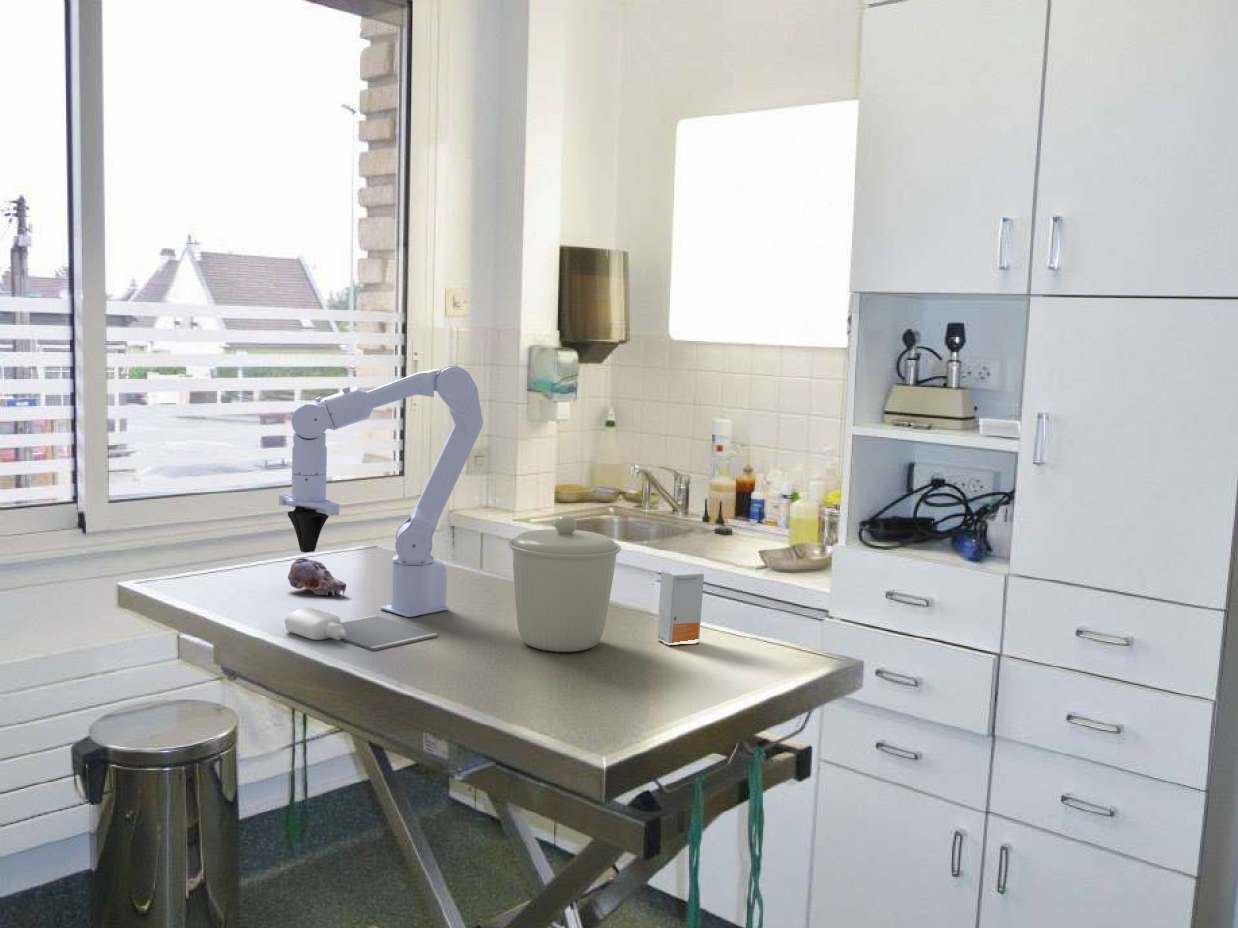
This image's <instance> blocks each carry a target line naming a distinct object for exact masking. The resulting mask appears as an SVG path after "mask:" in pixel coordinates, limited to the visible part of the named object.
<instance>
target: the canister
mask: <svg viewBox="0 0 1238 928" xmlns="http://www.w3.org/2000/svg"><path fill="white" fill-rule="evenodd" d="M577 526H578V522H577V520H576V518H574V517H573V516H571V515H560V516H558V517H557V518H556V519H555V521H554V527H555V528H549V529H548V528H547V529H545V528H543V529H537V530H535V529H534V530H530V531H525V532H523V533H520V534H518V535H517V536H516V537H514V538H512V539H510V540H509V541H508V543H507V545H508V548H510V549H511V555H512V570H513V571H512V572H513V586H514V587H513V588H514V599H515V612H516V613H515V614H516V620H517V622H516V623H517V629H518V634H519V636H520V637H521V639H522V641H523V642H524V643H525V644H526V645H527V646H529V647H532V648H534V649H537V650H542V651H547V652H552V653H553V652H554V653H573V652H574V653H575V652H582V651H585V650H586V651H587V650H589V649H591V648H593V647H595V646H596V645H597V644H598V643H599V642H600V640H601V639H602V637H603V634H604V630H605V626H606V621H607V614H608V610H609V605H610V599H611V592H612V585H613V582H614V581H613V579H614V573H615V567H616V561H617V554H618V553H620V552H621V551H622V546H621V545H620V544H619V543H617V542H616V541H614V540H613V538H611V537H609V536H607V535H604V534H601V533H597V532H592V531H587V530H580V529H579V530H578V529H577Z"/></svg>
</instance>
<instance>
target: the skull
mask: <svg viewBox="0 0 1238 928" xmlns="http://www.w3.org/2000/svg"><path fill="white" fill-rule="evenodd" d="M287 579H288V581H289V584H290V586H291V587H293V588H295V589H298V590H300V589H303V588H306V589H308V590H310V591H312V592H314V595H320V596H321V595H326V596H328V595H329V593H331V592H332V593H331V594H332V596H333V597H335V594H337V593H338V594H339V595H340V594H341V592H342V594H343V595H344V596H345V592H346V589H347V583H345V582H344V581H342V580H339V579H338V578H335V577H334V576H333V575H332V573H331V572H330V571H329V569H327V567H326V566H325V565H324V564H323V563H322V562H319V561H317V560H311V559H308V558H304V557H302V558H296V560H295V561H294V562H293V563H292V564H291V566H290V571H289V573H288V575H287Z"/></svg>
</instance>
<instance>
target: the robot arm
mask: <svg viewBox="0 0 1238 928" xmlns="http://www.w3.org/2000/svg"><path fill="white" fill-rule="evenodd" d="M435 392H437V394H438V395H439V397H440V398H441V399H442V401H443V403H445V404H446V406H447V407H448V410H449V412H450V416H451V418H452V420H453V426H452V428H451V430H450V432H449V435H448V437H447V439H446V440H445V443H444V444H443V445H444V446H443V447H442V450H441V452H440V453H439V456H438V457H437V460H436V462H435V465H433V469H432V471H431V473H430V475H429V477H428V479H427V480H426V483H425V485H424V488H423V489H422V492H421V494H420V496H419V498H418V499H417V500H418V501H417V502H416V504H415V506H414V507H413V509H412V511H411V513H410V515H409V517H408V518H407V519H406V520H405V521H404V522H402V523H401V524H400V525H399V526H398V528H397V530H396V533H395V545H394V547H395V551H396V555H394V556H393V557H392V559H391V562H392V563H391V565H392V567H391V599H390V601H391V602H390V604H386V605H381V606H380V610H382V611H383V610H384V611H386V612H390V613H393V614H396V615H400V616H403V617H407V618H413V617H418V616H422V615H428V614H432V613H438V612H441V611H443V612H444V611H447V610H449V609H450V606H448V605H447V593H448V592H447V589H448V585H447V584H448V573H447V571H448V570H447V568H446V565H445V563H443V561H442V560H441V559H439V558H436V557H435V558H434V556H433V555H431V553H432V550H433V537H434V533H435V532H436V529H437V526H438V524H439V520H440V517H441V515H442V513H443V512H444V509H445V507H446V505H447V502H448V500H449V499H450V496H451V495H452V492H453V490H454V488H455V486H456V483H457V481H458V479H459V477H460V474H461V472H462V471H463V470H464V467H465V464H466V463H467V460H468V459H469V456H470V454H471V451H473V447H474V445H475V444H476V441H477V439H478V437H479V435H480V433H481V431H482V428H483V423H484V422H483V421H484V420H483V415H482V409H481V408H482V407H481V403H480V402H481V401H480V395H479V388H478V386H477V384H476V383H475V381H474V379H473V377H472V376H471V374H470V373H469V372H468V371H467V370H465V368H463V367H461V366H458V365H447V366H444V367H443V368H442V369H440V368H433V369H430V370H428V369H427V370H423V371H419V372H416V373H413V374H410V375H408V376H405V377H403V378H400V379H397V380H395V381H392V382H389V383H386V384H384V385H381V386H379V387H376V388H374V389H370V390H364V389H362V388H360V387H359V386H355V387H352V388H351V386H345V387H343V388H341V391H340V392H338V393H336V394H332V395H330V396H326V397H323V398H322V396H319V397H316V398H315V400H314V401H315V402H316V403H310V402H309V403H305V404H303V405H301V406H299V407H298V408H297V409H296V410H295V411H294V412H293V414H292V417H291V426H292V429H293V431H294V433H293V437H292V442H293V445H292V449H291V450H292V455H291V493H282V494H281V493H280V494H278V496H279V497H278V505H279V506H283V507H284V506H288V507H292V508H294V509H293V510H290V511H287V517H288V518H289V520H290V522H291V523H292V525H293V528H294V532H295V534H296V538H297V543H298V546H299V551H300V553H301V552H302V553H304V554H307V553H314V552H315V551H316V547H317V545H318V540H319V538H320V535H321V531H322V529H323V527H324V526H325V523H326V522H327V520H328V518H329V517H332V516H339V515H340V503H339V502H338V503H337V502H334V501H332V500H330V499H328V498H327V461H328V460H327V457H328V456H327V455H328V448H327V445H326V442H327V441H326V438H327V437H326V435H327V433H326V430H332V431H335V430H338V429H342V428H344V427H345V428H346V427H347V426H350V425H353V424H355V423H358V422H361V421H365V420H367V419H369V417H370V416H371V414H372V412H373V409H375V408H378V407H381V406H382V407H383V406H385V405H388V404H391V403H394V402H398V401H401V400H403V399H407V398H411V397H413V396H416V395H417V396H418V395H419V396H423V397H430V398H434V397H435Z"/></svg>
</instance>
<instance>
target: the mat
mask: <svg viewBox="0 0 1238 928" xmlns="http://www.w3.org/2000/svg"><path fill="white" fill-rule="evenodd" d="M341 625H343V626H344V627H345V632H346V633H347V635H346V636H343V638H342V639H340V640H339V641H342V642H345V643H349V644H352V645H353V646H354V645H355V646H358V647H361V648H364V649H366V650H369V651H373V652H375V651H379V650H384V649H388V648H389V649H390V648H393V647H397V646H402V645H407V644H411V643H415V642H420V641H423V640H424V641H425V640H428V639H434V638H437V637H438V633H435V632H432V631H428V630H426V629H425V630H424V629H423V628H419V627H415V626H411V625H409V624H405V623H403V622H399V621H395V620H391V619H388V618H384V617H382V616H379V615H376V614H375V615H370V616H365V617H359V618H353V619H349V620H344V621H341Z"/></svg>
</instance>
